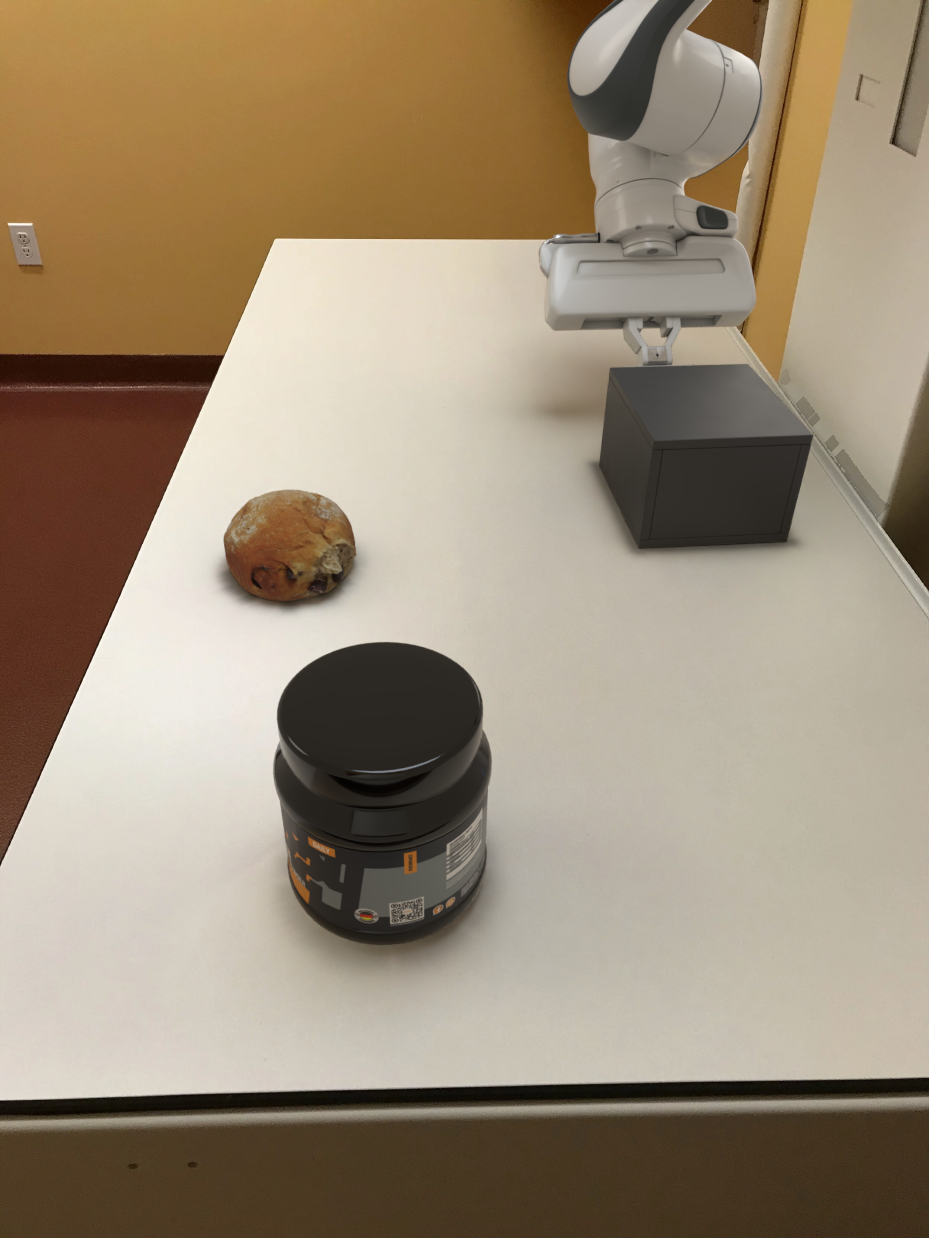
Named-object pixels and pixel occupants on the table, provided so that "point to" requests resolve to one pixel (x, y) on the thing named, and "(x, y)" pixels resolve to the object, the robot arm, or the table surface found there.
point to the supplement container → (383, 790)
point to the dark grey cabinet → (701, 455)
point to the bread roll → (289, 545)
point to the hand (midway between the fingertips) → (655, 368)
